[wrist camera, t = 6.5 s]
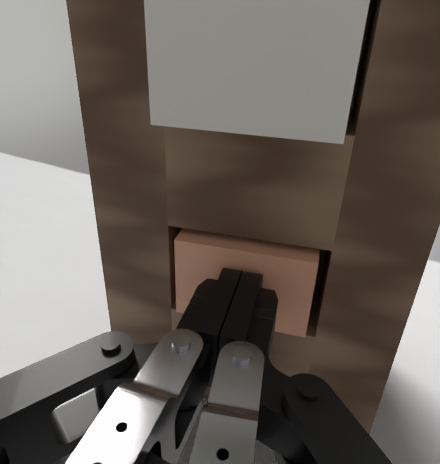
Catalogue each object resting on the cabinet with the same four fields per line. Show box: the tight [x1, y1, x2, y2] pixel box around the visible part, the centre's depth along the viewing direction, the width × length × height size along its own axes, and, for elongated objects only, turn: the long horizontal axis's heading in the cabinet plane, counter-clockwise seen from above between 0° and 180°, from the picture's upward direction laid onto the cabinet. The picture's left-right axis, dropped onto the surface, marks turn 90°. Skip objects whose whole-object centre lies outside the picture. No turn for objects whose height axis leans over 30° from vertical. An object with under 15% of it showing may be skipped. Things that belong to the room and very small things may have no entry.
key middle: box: [144, 0, 370, 144], centre depth 11 cm, size 5×3×3 cm, turn 76°
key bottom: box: [174, 228, 320, 337], centre depth 16 cm, size 5×3×3 cm, turn 76°
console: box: [66, 0, 440, 434], centre depth 15 cm, size 12×6×28 cm, turn 76°
